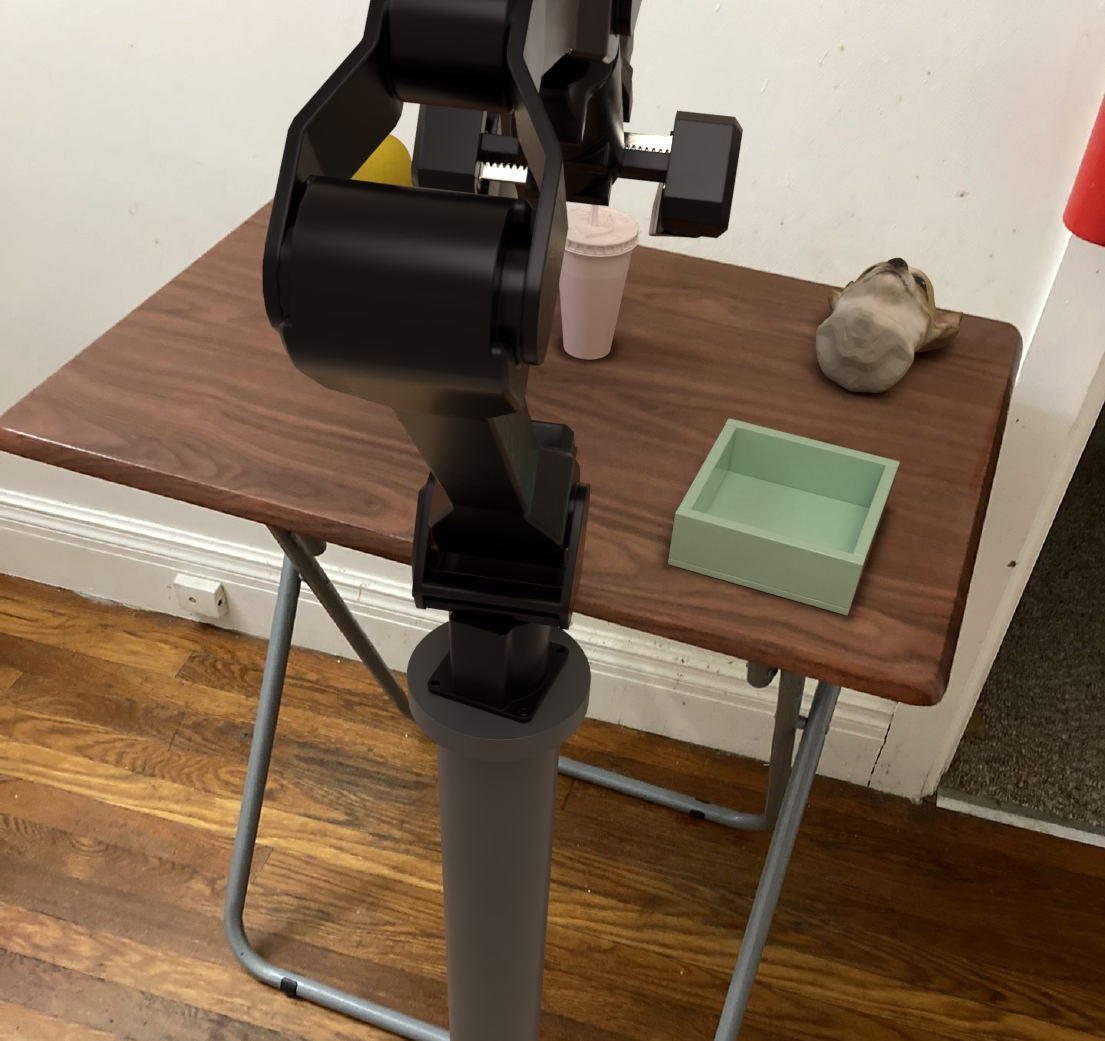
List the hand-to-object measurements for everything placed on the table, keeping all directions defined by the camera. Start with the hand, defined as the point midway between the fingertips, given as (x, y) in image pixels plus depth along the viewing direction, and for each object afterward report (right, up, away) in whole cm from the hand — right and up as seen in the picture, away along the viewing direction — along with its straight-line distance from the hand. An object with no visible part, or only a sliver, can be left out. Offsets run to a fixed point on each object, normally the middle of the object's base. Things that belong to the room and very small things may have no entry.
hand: (583, 220), depth 76 cm
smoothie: (+1, -3, +15) cm, 16 cm away
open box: (+13, -21, 0) cm, 24 cm away
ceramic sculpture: (+23, -4, +16) cm, 28 cm away
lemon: (-17, +12, +28) cm, 35 cm away
